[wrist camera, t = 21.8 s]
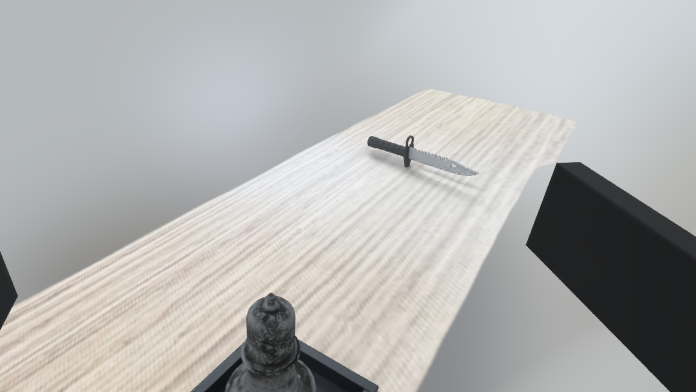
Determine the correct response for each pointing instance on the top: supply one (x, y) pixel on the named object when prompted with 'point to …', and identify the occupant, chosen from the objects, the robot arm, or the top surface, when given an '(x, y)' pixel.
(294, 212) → the top surface
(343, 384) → the serving tray
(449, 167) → the knife
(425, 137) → the top surface
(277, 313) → the salt shaker
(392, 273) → the top surface
